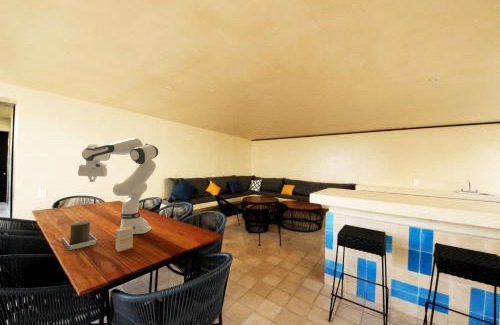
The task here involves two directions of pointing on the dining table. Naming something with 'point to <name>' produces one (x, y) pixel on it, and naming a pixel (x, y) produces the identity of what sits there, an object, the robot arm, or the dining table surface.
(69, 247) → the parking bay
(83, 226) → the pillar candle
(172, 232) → the dining table surface
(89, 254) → the dining table surface
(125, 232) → the supplement box
